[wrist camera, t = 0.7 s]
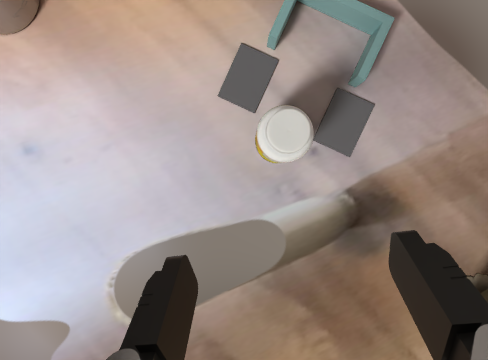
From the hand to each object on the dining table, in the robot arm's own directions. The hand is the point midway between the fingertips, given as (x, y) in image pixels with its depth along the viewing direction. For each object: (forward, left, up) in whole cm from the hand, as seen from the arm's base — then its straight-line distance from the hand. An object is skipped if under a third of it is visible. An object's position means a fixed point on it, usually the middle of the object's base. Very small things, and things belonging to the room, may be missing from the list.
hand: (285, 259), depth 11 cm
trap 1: (+6, +13, -24) cm, 28 cm away
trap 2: (-7, +13, -24) cm, 29 cm away
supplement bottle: (-1, +7, -25) cm, 26 cm away
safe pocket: (-1, +21, -24) cm, 32 cm away
